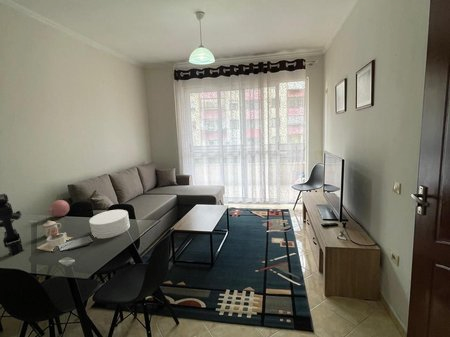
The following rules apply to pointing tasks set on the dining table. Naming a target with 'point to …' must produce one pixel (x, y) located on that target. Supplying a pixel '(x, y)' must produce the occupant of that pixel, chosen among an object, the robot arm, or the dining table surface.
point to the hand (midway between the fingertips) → (10, 231)
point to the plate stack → (109, 223)
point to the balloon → (59, 208)
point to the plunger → (55, 235)
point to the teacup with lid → (50, 228)
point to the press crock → (54, 242)
